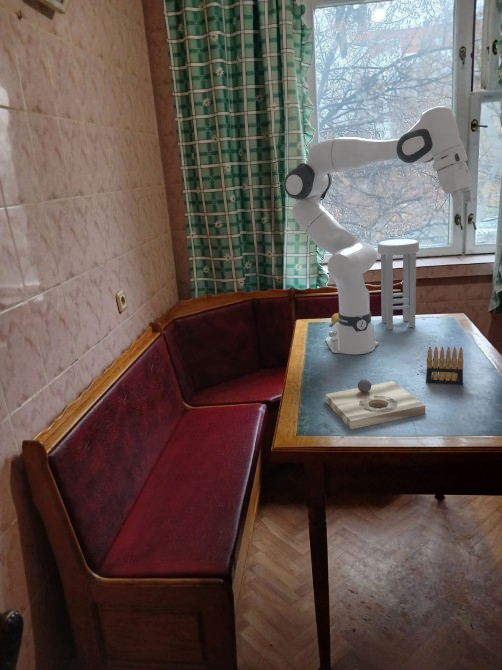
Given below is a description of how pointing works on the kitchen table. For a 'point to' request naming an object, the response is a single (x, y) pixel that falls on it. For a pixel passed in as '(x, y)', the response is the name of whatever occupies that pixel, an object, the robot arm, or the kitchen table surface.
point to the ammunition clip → (445, 367)
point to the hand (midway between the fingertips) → (464, 204)
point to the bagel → (334, 319)
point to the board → (374, 405)
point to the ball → (364, 385)
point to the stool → (409, 279)
